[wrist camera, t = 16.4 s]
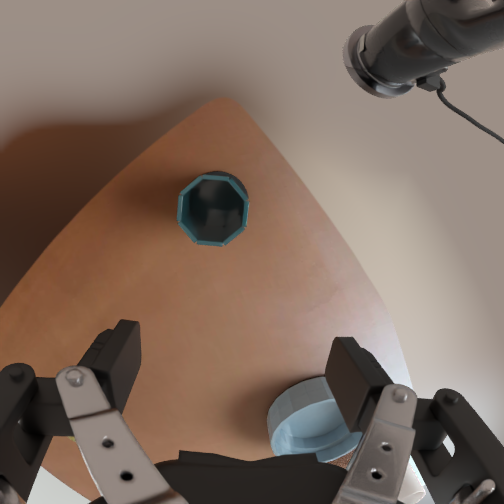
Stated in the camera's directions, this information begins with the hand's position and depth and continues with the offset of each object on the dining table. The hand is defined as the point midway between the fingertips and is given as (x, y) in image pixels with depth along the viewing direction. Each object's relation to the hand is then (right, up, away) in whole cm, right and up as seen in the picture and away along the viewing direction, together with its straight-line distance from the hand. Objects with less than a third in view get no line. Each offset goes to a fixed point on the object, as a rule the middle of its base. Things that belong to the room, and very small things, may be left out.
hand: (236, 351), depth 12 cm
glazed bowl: (+11, -22, +33) cm, 42 cm away
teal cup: (-3, +10, +23) cm, 26 cm away
